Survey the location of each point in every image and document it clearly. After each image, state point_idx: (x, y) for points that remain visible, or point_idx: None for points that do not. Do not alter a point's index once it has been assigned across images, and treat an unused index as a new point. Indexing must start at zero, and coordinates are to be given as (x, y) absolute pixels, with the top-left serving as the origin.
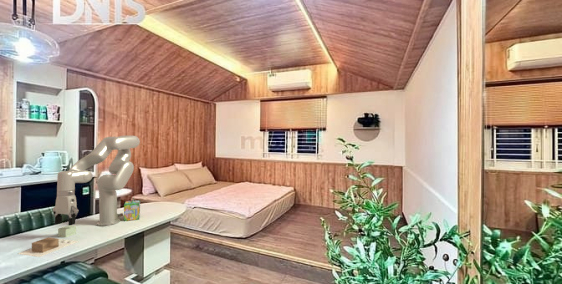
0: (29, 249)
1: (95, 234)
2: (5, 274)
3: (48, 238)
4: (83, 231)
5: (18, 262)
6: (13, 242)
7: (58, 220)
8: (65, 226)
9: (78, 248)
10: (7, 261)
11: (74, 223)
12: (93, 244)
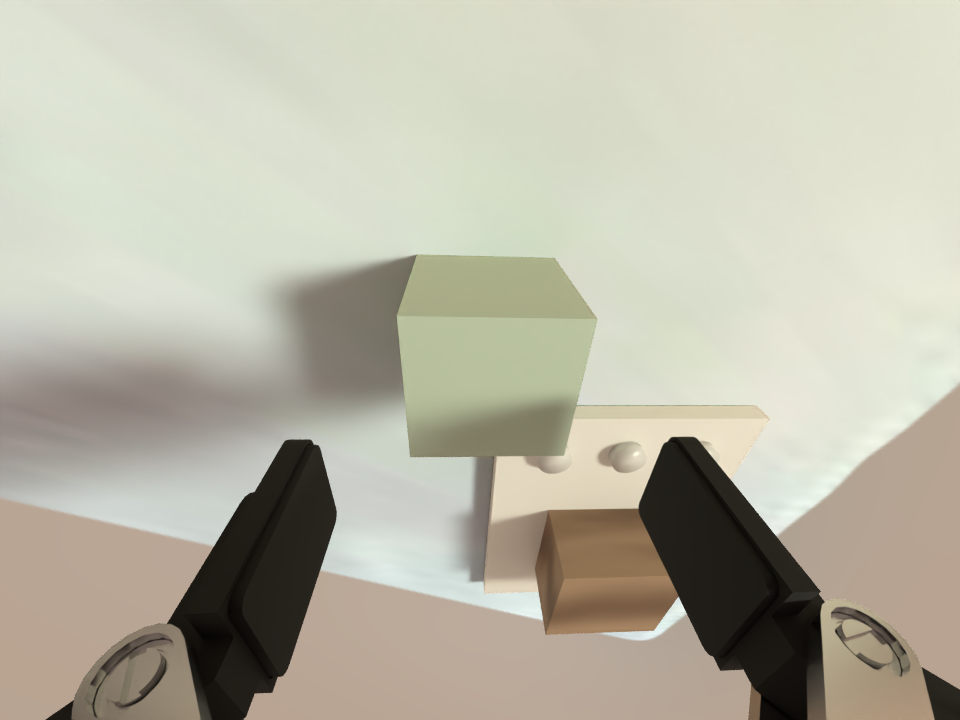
0: (489, 561)
1: (826, 161)
2: (628, 638)
3: (593, 586)
4: (521, 73)
5: None
6: (143, 501)
7: (312, 543)
8: (416, 374)
9: (811, 467)
10: (507, 606)
11: (694, 452)
12: (915, 398)
